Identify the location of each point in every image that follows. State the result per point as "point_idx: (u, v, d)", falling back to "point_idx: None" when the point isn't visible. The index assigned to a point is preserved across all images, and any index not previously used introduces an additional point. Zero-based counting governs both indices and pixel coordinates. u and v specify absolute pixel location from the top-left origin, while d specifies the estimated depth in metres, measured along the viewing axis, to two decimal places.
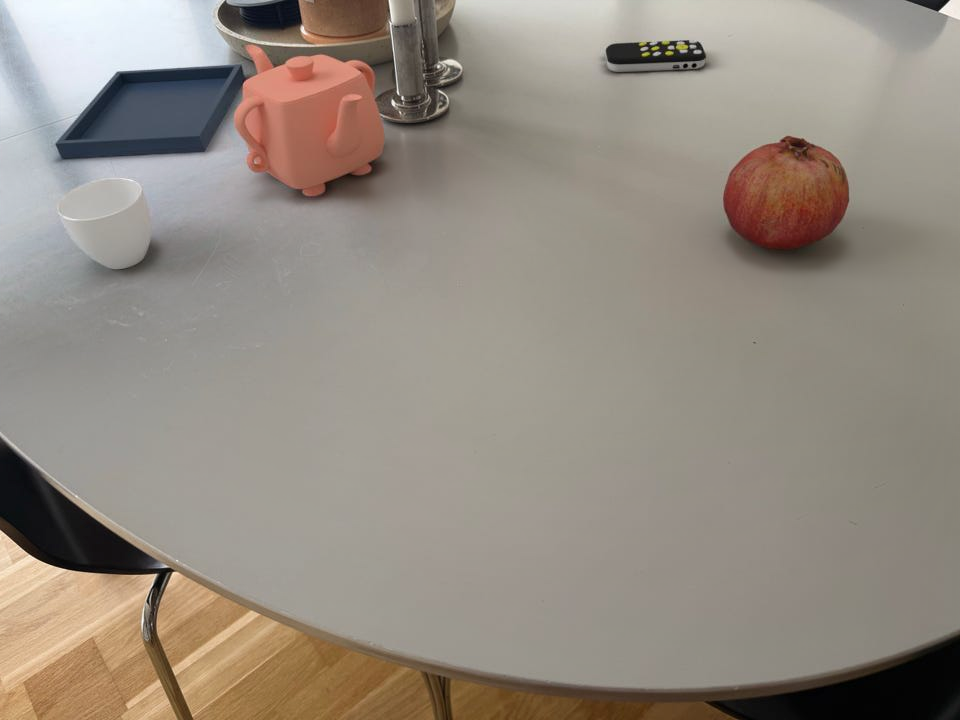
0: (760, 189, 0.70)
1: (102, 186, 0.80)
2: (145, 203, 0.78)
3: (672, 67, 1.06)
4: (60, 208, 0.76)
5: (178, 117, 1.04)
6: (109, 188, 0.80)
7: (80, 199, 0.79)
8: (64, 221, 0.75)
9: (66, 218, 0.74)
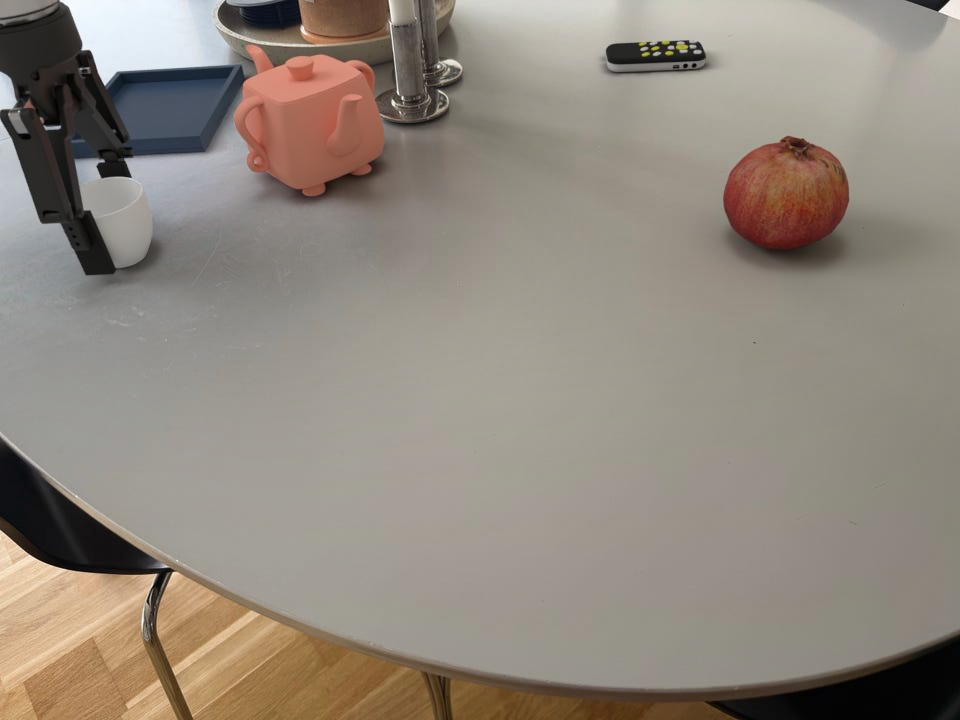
0: (760, 189, 0.70)
1: (103, 185, 0.80)
2: (146, 202, 0.78)
3: (672, 67, 1.06)
4: None
5: (178, 117, 1.04)
6: (110, 187, 0.80)
7: None
8: None
9: None
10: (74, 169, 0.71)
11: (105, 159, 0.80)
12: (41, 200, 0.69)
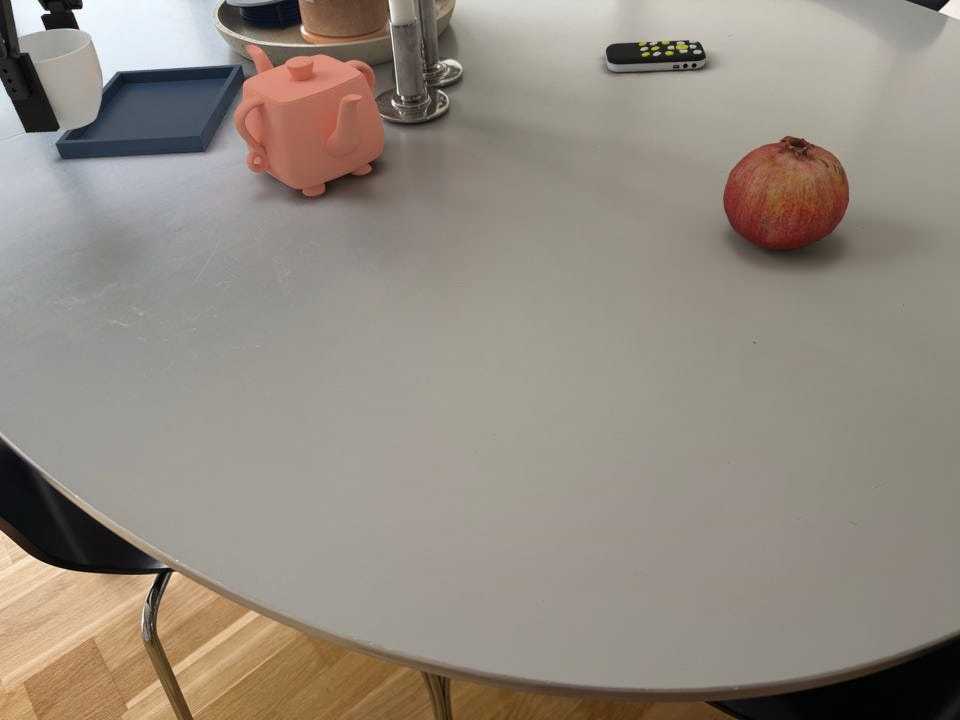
0: (760, 189, 0.70)
1: (48, 38, 0.72)
2: (94, 53, 0.70)
3: (672, 67, 1.06)
4: None
5: (178, 117, 1.04)
6: (56, 41, 0.73)
7: (23, 51, 0.72)
8: None
9: None
10: (8, 2, 0.64)
11: (51, 10, 0.73)
12: None
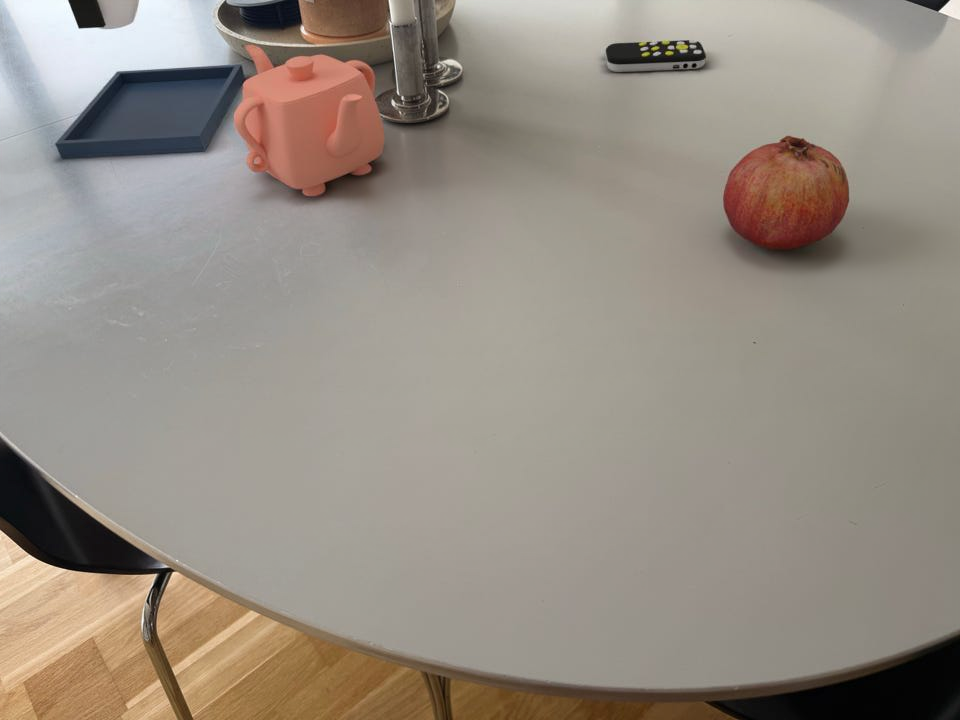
0: (760, 189, 0.70)
1: None
2: None
3: (672, 67, 1.06)
4: None
5: (178, 117, 1.04)
6: None
7: None
8: None
9: None
10: None
11: None
12: None
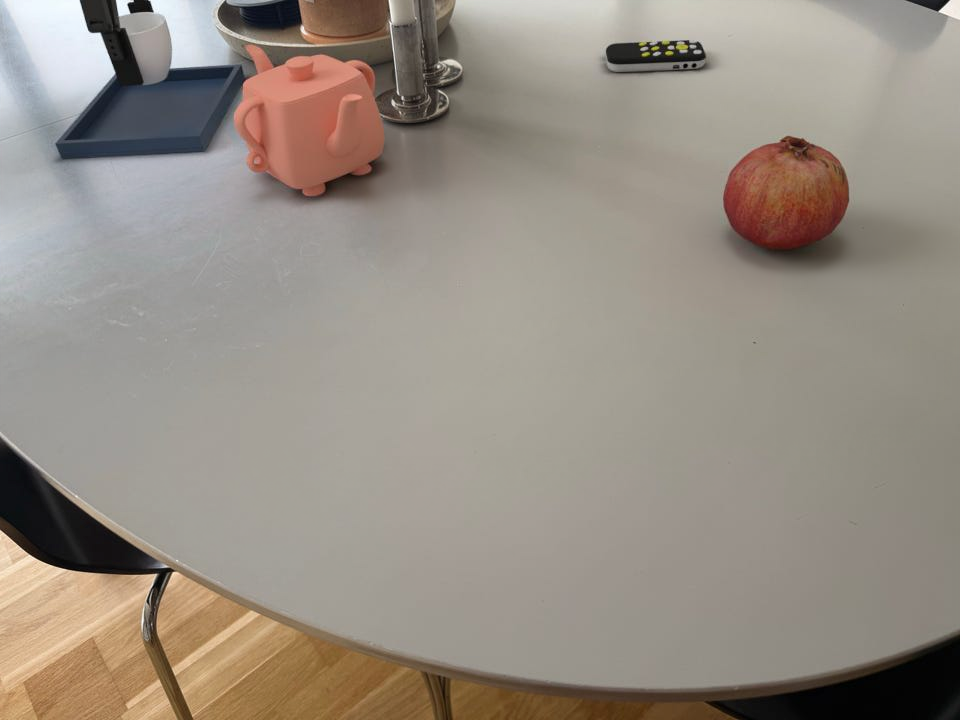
0: (760, 189, 0.70)
1: (132, 19, 1.01)
2: (168, 29, 0.99)
3: (672, 67, 1.06)
4: None
5: (178, 117, 1.04)
6: (138, 21, 1.01)
7: None
8: None
9: None
10: None
11: None
12: (89, 11, 0.90)
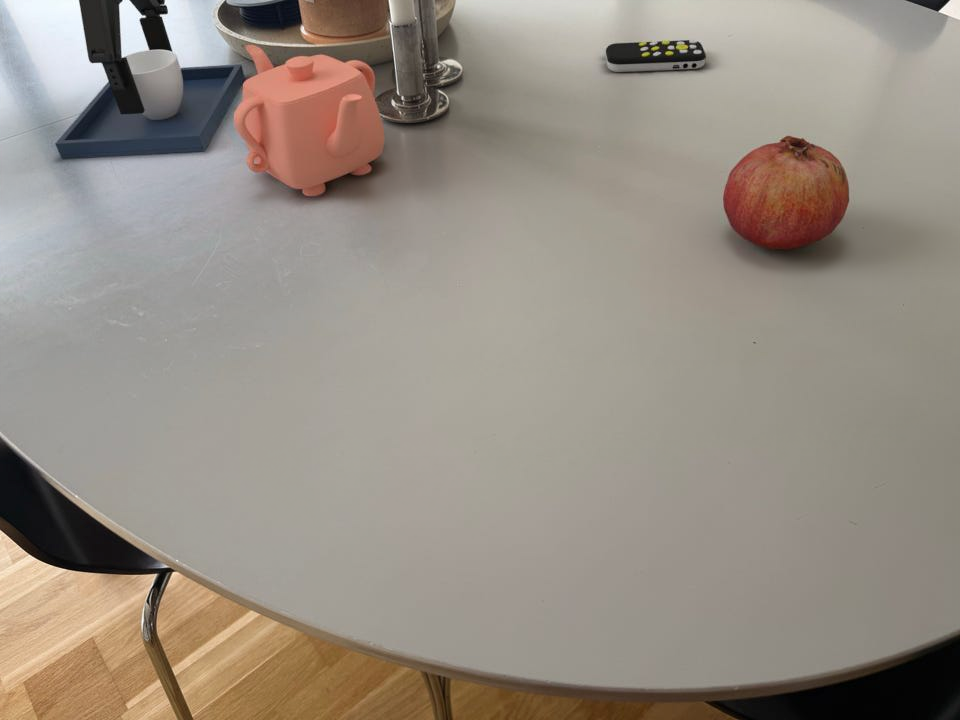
0: (760, 189, 0.70)
1: (145, 56, 1.04)
2: (179, 66, 1.02)
3: (672, 67, 1.06)
4: None
5: (178, 117, 1.04)
6: (150, 58, 1.04)
7: None
8: None
9: None
10: (118, 25, 0.93)
11: (146, 15, 1.05)
12: (92, 41, 0.91)
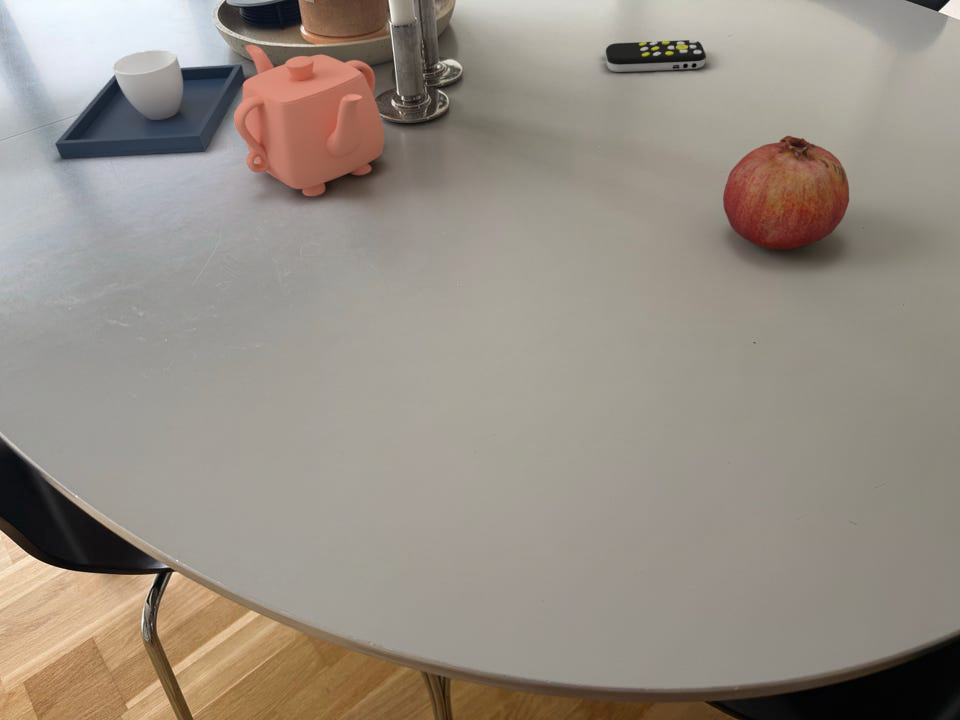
0: (760, 189, 0.70)
1: (145, 56, 1.04)
2: (179, 66, 1.02)
3: (672, 67, 1.06)
4: (115, 69, 1.01)
5: (178, 117, 1.04)
6: (150, 58, 1.04)
7: (128, 66, 1.03)
8: (119, 76, 0.99)
9: (121, 73, 0.99)
10: None
11: None
12: None
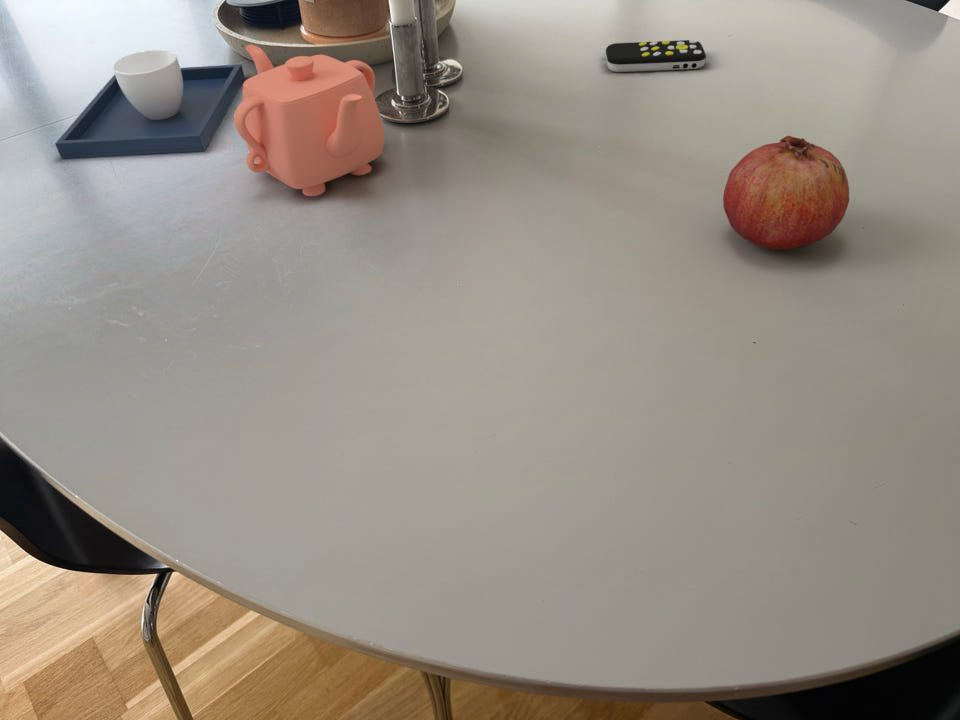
0: (760, 189, 0.70)
1: (145, 56, 1.04)
2: (179, 66, 1.02)
3: (672, 67, 1.06)
4: (115, 69, 1.01)
5: (178, 117, 1.04)
6: (150, 58, 1.04)
7: (128, 66, 1.03)
8: (119, 76, 0.99)
9: (121, 73, 0.99)
10: None
11: None
12: None
